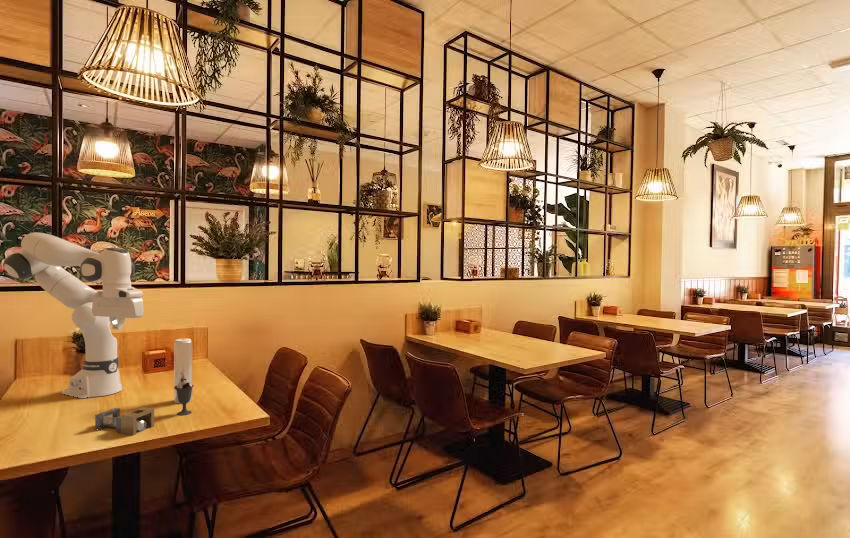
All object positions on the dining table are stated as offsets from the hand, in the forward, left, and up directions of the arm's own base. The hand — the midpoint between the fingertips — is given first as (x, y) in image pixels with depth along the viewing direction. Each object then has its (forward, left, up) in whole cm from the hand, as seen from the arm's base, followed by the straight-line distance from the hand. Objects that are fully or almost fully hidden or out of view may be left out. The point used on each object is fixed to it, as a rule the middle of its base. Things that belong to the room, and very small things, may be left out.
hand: (117, 329), depth 171 cm
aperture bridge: (+21, -12, -31) cm, 40 cm away
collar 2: (+17, -12, -31) cm, 38 cm away
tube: (+14, -12, -31) cm, 36 cm away
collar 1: (+9, -12, -31) cm, 35 cm away
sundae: (+24, +6, -31) cm, 40 cm away
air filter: (+13, +18, -31) cm, 38 cm away
